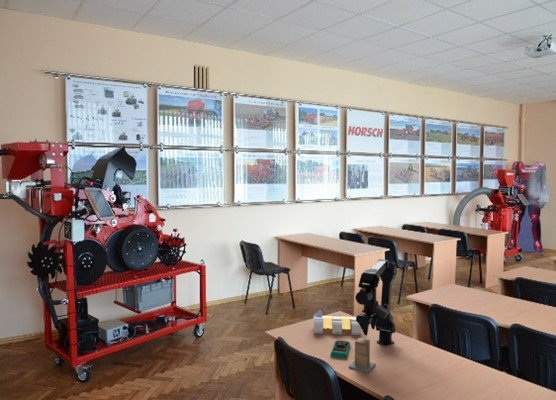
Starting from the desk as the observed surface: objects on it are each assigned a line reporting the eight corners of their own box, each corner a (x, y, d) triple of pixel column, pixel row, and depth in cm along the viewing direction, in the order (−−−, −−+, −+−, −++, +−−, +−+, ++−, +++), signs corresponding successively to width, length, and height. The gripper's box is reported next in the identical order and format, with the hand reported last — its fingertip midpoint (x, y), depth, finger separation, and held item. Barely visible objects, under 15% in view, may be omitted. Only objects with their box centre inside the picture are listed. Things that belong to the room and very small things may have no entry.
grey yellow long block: (313, 334, 225) (313, 310, 224) (314, 327, 236) (314, 304, 235) (361, 336, 223) (361, 312, 222) (359, 329, 233) (359, 305, 232)
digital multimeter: (350, 346, 210) (350, 340, 210) (346, 360, 195) (346, 353, 195) (335, 345, 212) (335, 339, 212) (330, 358, 197) (330, 351, 197)
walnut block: (359, 361, 191) (359, 337, 190) (369, 364, 188) (369, 340, 188) (354, 365, 187) (354, 341, 186) (365, 368, 184) (365, 343, 183)
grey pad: (356, 360, 194) (356, 358, 194) (375, 365, 189) (375, 363, 189) (348, 368, 186) (348, 366, 186) (368, 373, 181) (368, 371, 181)
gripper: (379, 307, 180) (379, 343, 181) (393, 296, 196) (393, 329, 197) (355, 303, 186) (355, 337, 187) (370, 292, 202) (370, 324, 203)
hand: (369, 332), depth 193 cm, fingers open, 9 cm apart
